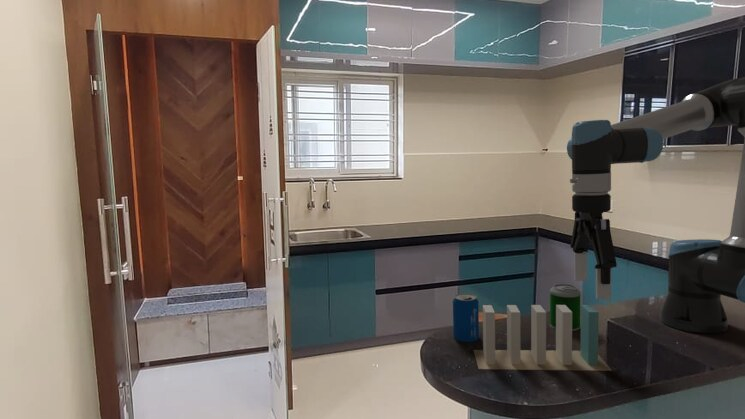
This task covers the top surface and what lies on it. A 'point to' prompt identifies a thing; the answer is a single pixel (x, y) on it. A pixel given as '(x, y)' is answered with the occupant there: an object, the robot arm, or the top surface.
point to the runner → (530, 364)
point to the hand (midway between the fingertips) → (591, 288)
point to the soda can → (565, 303)
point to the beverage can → (465, 318)
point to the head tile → (589, 334)
